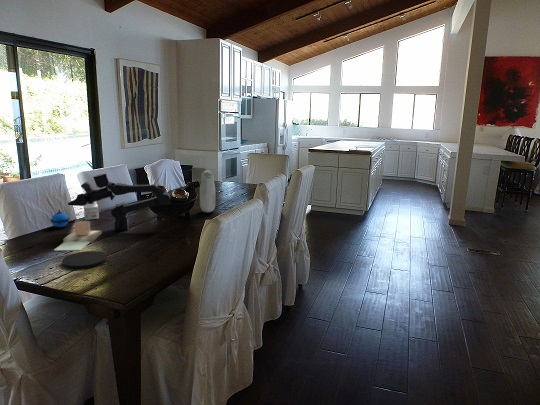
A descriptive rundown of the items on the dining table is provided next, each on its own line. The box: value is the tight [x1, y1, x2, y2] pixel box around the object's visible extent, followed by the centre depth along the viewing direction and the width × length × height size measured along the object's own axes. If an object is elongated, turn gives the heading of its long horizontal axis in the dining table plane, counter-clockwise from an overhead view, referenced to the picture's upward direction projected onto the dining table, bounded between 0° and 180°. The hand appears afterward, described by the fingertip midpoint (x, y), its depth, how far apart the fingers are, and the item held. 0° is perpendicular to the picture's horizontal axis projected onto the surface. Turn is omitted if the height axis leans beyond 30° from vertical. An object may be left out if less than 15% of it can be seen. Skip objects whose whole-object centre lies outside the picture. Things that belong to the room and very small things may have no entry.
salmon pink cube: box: [73, 220, 92, 235], centre depth 199 cm, size 6×6×6 cm
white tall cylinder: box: [199, 169, 216, 213], centre depth 255 cm, size 10×10×28 cm
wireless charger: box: [61, 250, 108, 271], centre depth 169 cm, size 18×18×2 cm
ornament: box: [50, 209, 70, 228], centre depth 216 cm, size 9×9×10 cm
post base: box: [63, 230, 103, 243], centre depth 200 cm, size 14×14×7 cm
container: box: [83, 201, 100, 221], centre depth 236 cm, size 8×8×13 cm
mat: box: [53, 241, 91, 252], centre depth 187 cm, size 12×12×1 cm
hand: (70, 203), depth 206 cm, fingers open, 9 cm apart
